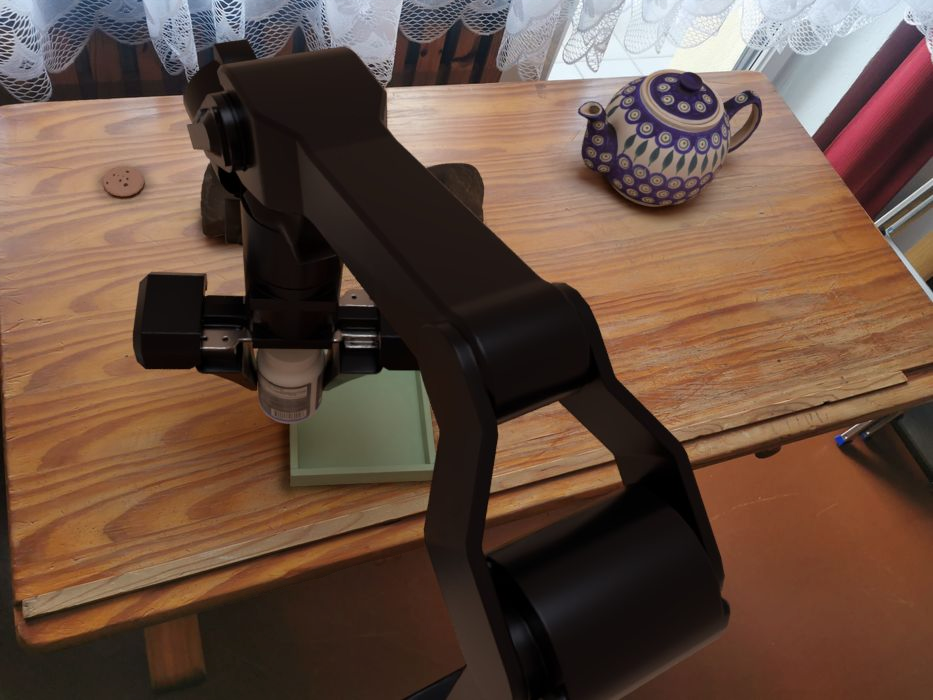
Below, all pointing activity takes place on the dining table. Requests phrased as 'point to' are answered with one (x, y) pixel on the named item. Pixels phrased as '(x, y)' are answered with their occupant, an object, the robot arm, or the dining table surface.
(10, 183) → the dining table surface
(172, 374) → the dining table surface
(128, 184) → the cookie
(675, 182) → the teapot
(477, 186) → the dark brown bone
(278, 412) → the pill bottle
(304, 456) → the tray
